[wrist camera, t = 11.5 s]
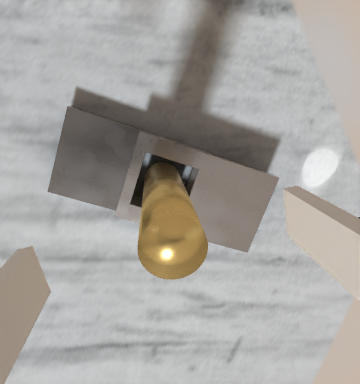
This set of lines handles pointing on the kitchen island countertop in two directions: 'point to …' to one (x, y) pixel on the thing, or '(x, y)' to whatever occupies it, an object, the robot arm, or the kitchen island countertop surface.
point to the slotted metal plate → (130, 168)
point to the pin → (169, 226)
